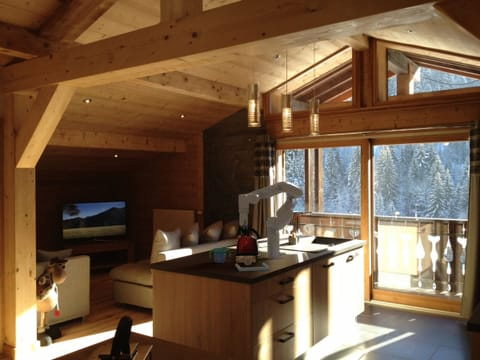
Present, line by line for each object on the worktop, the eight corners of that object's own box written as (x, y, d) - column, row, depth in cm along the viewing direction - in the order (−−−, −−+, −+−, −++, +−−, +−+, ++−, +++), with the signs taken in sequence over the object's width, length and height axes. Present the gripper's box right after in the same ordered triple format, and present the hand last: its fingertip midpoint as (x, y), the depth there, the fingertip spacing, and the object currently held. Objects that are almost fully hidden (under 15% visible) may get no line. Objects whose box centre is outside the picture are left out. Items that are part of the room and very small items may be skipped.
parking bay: (263, 265, 328) (263, 262, 328) (269, 270, 311) (269, 267, 311) (235, 266, 325) (235, 263, 325) (239, 271, 308) (239, 268, 308)
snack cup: (209, 264, 334) (209, 250, 334) (209, 261, 345) (209, 247, 345) (231, 263, 336) (231, 249, 336) (230, 260, 346) (230, 247, 346)
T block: (254, 261, 346) (254, 255, 346) (258, 264, 332) (258, 258, 332) (236, 261, 343) (236, 256, 343) (239, 265, 330) (239, 259, 330)
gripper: (237, 210, 357) (237, 232, 357) (240, 211, 340) (241, 235, 340) (246, 209, 358) (246, 231, 358) (250, 211, 341) (251, 234, 341)
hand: (244, 233), depth 349 cm, fingers open, 9 cm apart
